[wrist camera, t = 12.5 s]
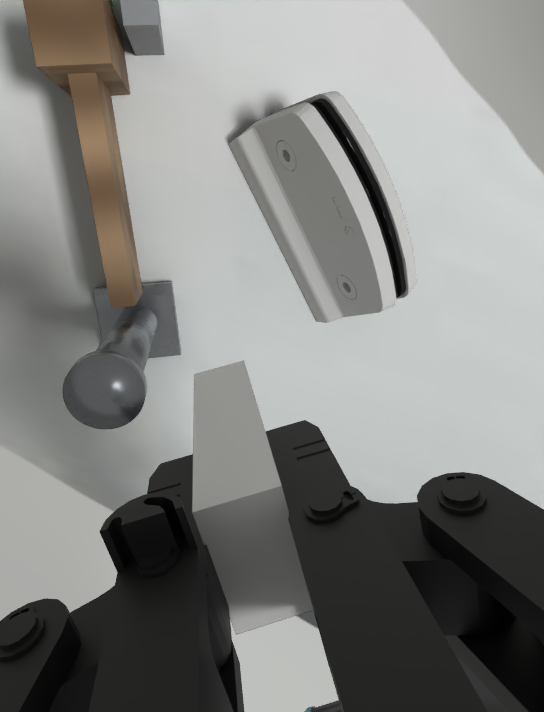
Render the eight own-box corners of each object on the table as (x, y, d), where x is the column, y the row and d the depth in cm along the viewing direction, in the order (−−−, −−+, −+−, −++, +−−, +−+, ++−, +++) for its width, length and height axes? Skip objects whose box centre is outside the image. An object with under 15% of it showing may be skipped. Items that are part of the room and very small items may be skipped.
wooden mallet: (159, 288, 38) (150, 309, 31) (108, 293, 38) (86, 316, 30) (120, 28, 33) (97, -24, 25) (60, 31, 32) (18, -22, 25)
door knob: (180, 351, 41) (171, 438, 25) (108, 358, 40) (54, 453, 25) (171, 281, 39) (156, 330, 24) (95, 287, 38) (29, 343, 23)
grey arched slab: (225, 139, 36) (287, 89, 27) (274, 114, 38) (347, 59, 29) (318, 325, 42) (395, 334, 33) (357, 297, 43) (441, 299, 34)
